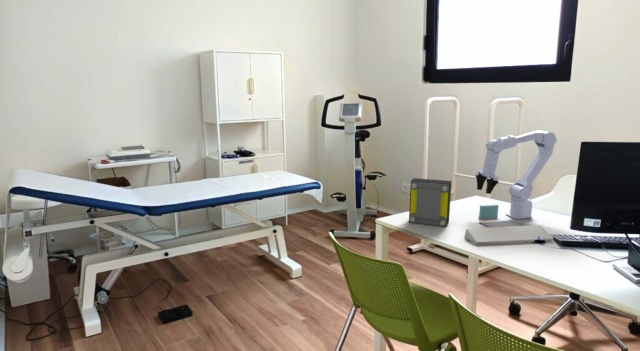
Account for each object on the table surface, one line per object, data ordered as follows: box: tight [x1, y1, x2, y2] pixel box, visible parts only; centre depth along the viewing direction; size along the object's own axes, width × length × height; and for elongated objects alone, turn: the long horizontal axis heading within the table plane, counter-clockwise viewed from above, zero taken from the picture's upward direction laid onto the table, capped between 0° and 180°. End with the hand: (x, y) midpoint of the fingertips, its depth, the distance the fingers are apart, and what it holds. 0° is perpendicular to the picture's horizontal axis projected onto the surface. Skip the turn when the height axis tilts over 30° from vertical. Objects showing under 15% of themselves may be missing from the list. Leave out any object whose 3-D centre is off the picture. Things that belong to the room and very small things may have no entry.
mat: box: [478, 219, 526, 228], centre depth 212 cm, size 18×14×1 cm
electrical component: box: [408, 177, 452, 227], centre depth 215 cm, size 18×10×20 cm, turn 68°
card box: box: [478, 203, 499, 219], centre depth 226 cm, size 9×2×6 cm, turn 103°
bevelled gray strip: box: [464, 224, 554, 246], centre depth 194 cm, size 34×5×10 cm
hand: (483, 191), depth 223 cm, fingers open, 7 cm apart
